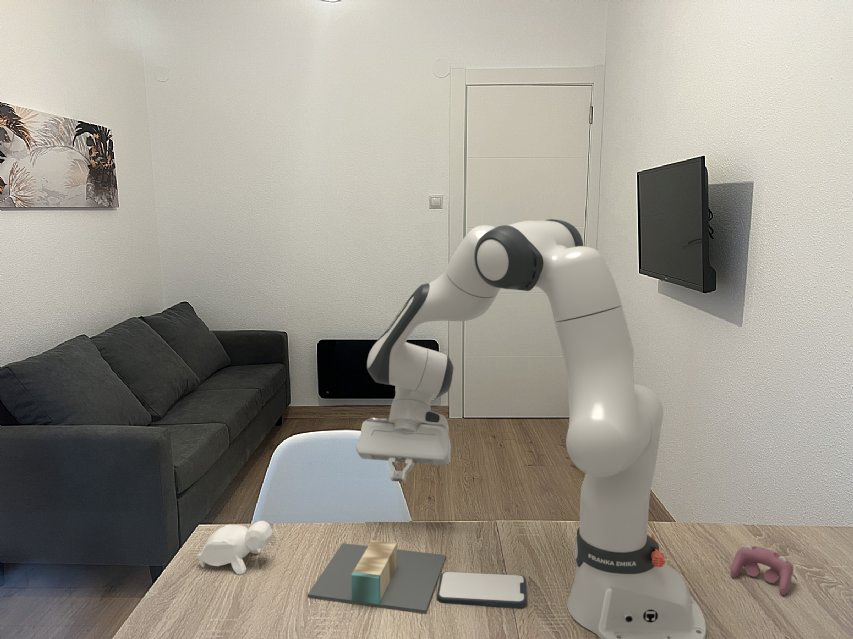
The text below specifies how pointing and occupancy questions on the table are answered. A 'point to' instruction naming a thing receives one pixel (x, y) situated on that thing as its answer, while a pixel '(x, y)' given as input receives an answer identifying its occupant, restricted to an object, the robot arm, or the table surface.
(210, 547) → the white tortoise figurine
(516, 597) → the smartphone
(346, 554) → the rubber mat
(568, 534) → the table surface
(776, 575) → the video game controller
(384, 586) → the birch block
